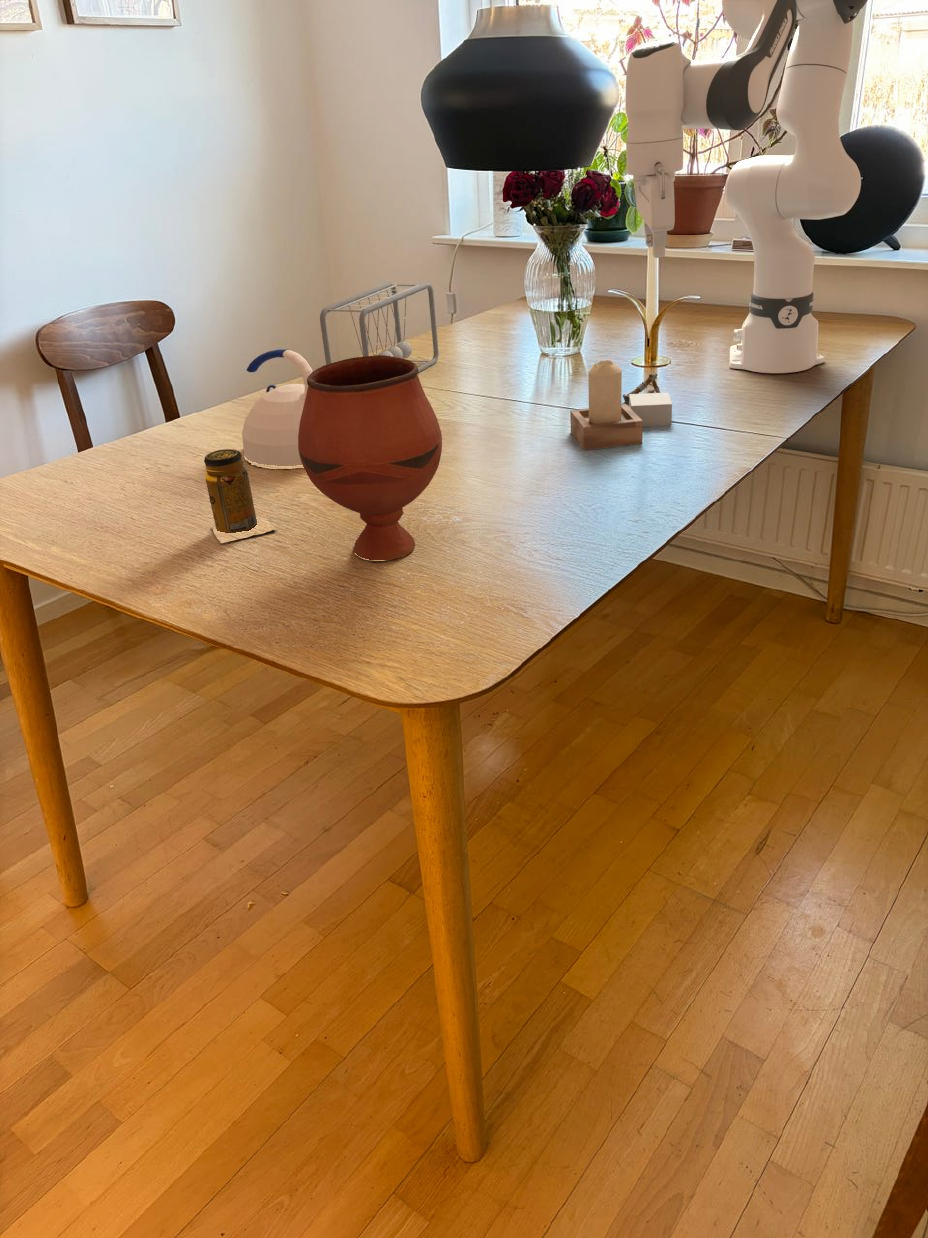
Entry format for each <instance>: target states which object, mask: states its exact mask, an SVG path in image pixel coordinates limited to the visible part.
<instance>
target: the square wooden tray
mask: <svg viewBox="0 0 928 1238" xmlns="http://www.w3.org/2000/svg"><path fill="white" fill-rule="evenodd" d="M569 413H570V417H569V418H570V419H569V420H570V422H569V423H570V433H571V434H572V435H571V436H573V438H574V439H575V440H576V442H577V443H578V444H579V446H580V447H581V448H582V449H583V451H590V450H600V449H607V448H617V447H625V446H633V445H642V444H643V432H644V431H643V429H644V428H643V427H644V426H643V420H642V419H641V418H640V417H639V416H638V415H637V414H636V413H635V412H634V411H633V410H632V409H631V408H630V407H629V404H627V403H621V421H615V422H606V423H598V424H592V423H590V422H589V407H586V408H579V409H570V411H569Z"/></svg>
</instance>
